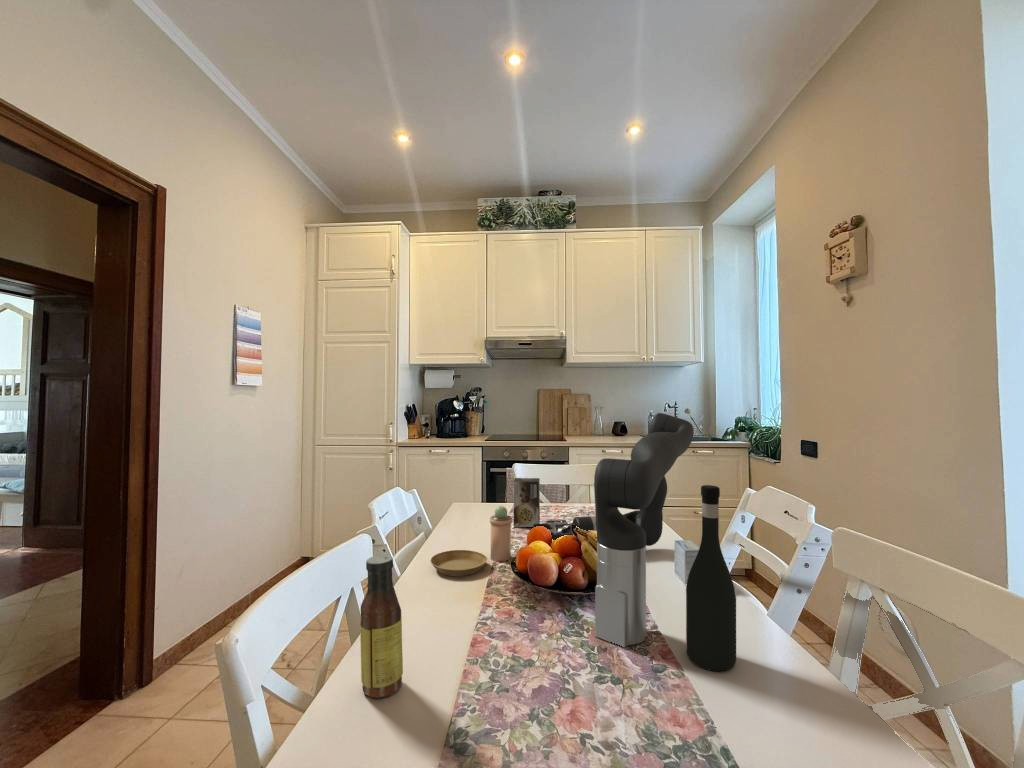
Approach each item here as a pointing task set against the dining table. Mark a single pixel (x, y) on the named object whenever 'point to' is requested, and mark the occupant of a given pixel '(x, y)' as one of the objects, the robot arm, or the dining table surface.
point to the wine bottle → (710, 596)
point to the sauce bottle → (381, 631)
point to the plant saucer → (458, 562)
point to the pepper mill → (500, 535)
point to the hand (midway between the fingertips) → (536, 532)
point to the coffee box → (526, 502)
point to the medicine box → (684, 558)
